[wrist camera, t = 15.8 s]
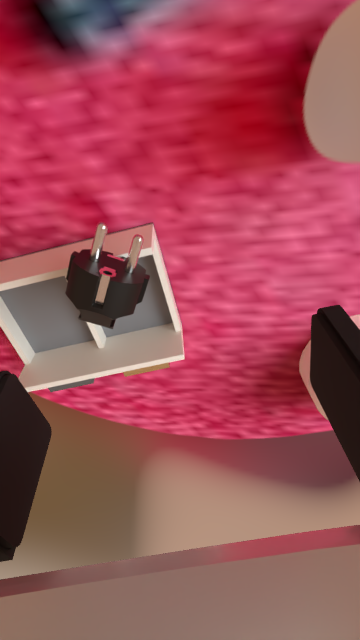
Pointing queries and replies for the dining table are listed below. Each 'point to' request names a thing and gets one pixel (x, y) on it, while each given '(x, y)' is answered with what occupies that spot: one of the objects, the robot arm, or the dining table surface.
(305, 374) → the honey pot
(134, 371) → the tan wooden slab
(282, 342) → the dining table surface
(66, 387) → the grey flat block
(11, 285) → the two-cubby white shelf
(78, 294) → the power plug
